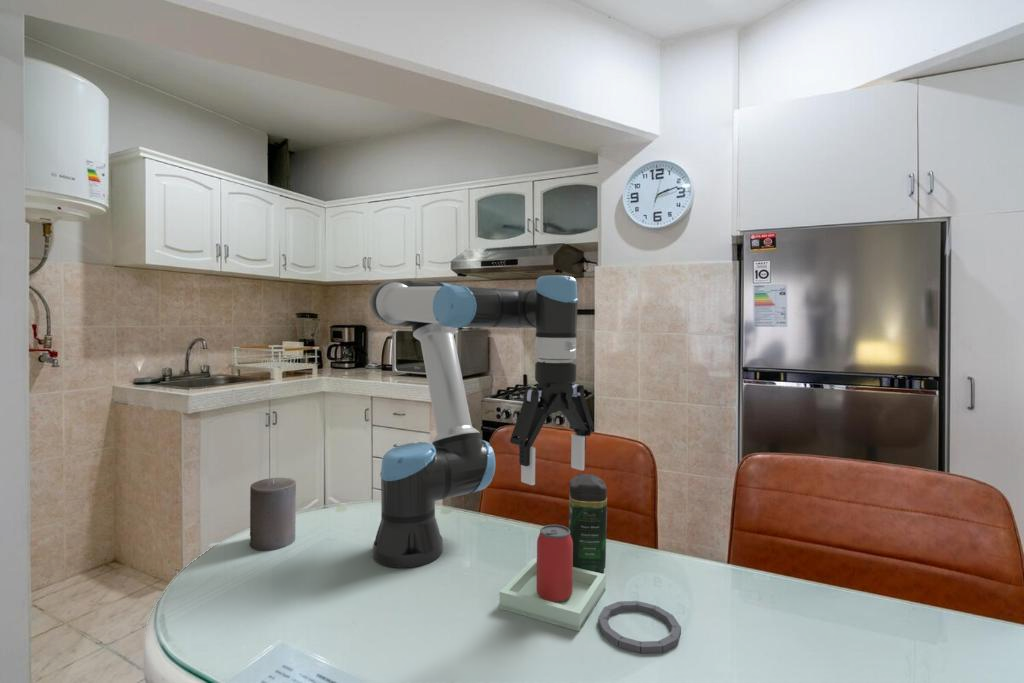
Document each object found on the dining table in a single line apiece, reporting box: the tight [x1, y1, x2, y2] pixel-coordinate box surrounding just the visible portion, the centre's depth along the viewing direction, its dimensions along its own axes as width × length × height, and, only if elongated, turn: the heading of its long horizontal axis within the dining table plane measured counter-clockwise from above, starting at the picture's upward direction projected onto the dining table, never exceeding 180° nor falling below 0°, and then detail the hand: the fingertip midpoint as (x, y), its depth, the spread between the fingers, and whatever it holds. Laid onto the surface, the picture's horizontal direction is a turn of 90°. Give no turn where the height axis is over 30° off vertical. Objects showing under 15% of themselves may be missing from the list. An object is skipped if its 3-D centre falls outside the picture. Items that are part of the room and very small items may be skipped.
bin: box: [499, 557, 607, 632], centre depth 94 cm, size 15×15×3 cm
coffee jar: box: [568, 473, 608, 573], centre depth 108 cm, size 10×8×19 cm
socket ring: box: [597, 600, 682, 654], centre depth 85 cm, size 13×13×1 cm
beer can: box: [536, 524, 573, 602], centre depth 94 cm, size 7×7×12 cm
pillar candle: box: [249, 477, 297, 552], centre depth 118 cm, size 10×10×15 cm
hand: (554, 475), depth 94 cm, fingers open, 13 cm apart
